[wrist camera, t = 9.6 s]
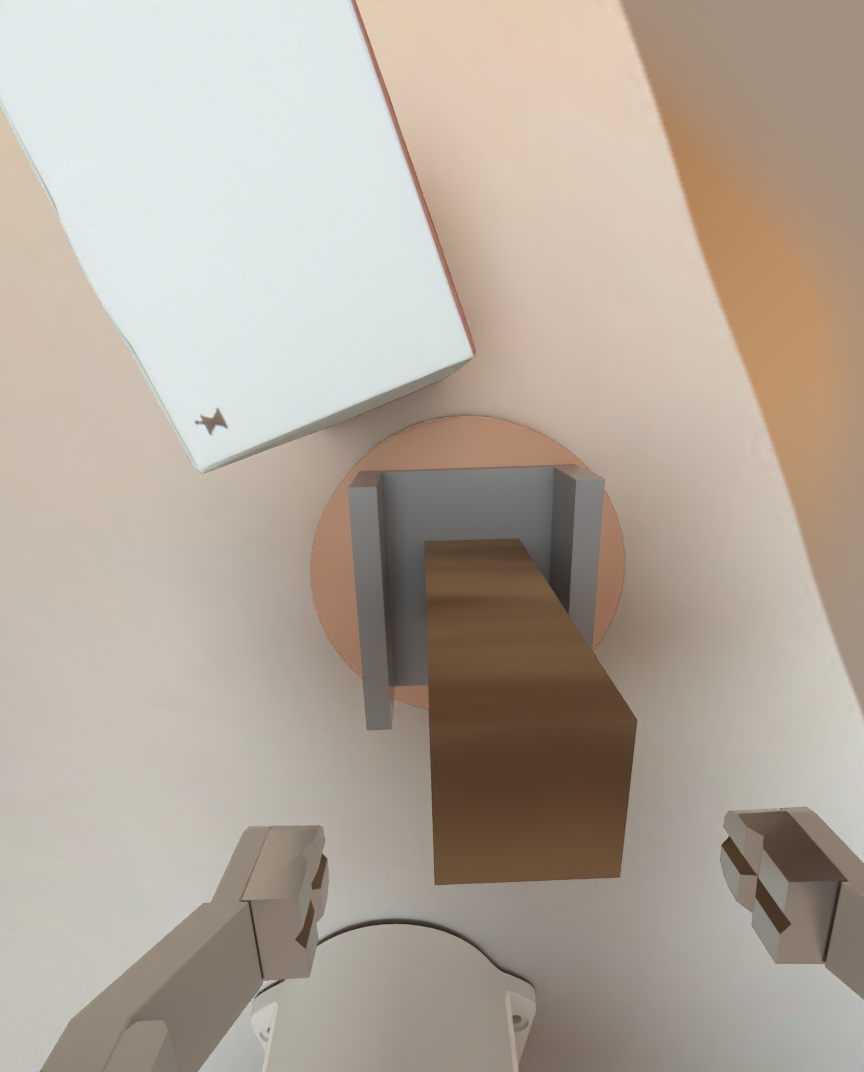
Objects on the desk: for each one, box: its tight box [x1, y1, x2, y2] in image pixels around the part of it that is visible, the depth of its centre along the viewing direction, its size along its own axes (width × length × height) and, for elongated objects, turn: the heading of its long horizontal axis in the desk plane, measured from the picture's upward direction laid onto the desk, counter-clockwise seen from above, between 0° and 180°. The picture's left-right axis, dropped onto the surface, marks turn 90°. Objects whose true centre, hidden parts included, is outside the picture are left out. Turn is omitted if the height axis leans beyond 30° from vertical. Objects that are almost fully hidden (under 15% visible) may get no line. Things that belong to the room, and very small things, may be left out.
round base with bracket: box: [311, 415, 625, 730], centre depth 22 cm, size 14×14×6 cm
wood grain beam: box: [425, 538, 637, 885], centre depth 16 cm, size 4×4×12 cm
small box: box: [0, 0, 476, 473], centre depth 15 cm, size 8×6×13 cm
